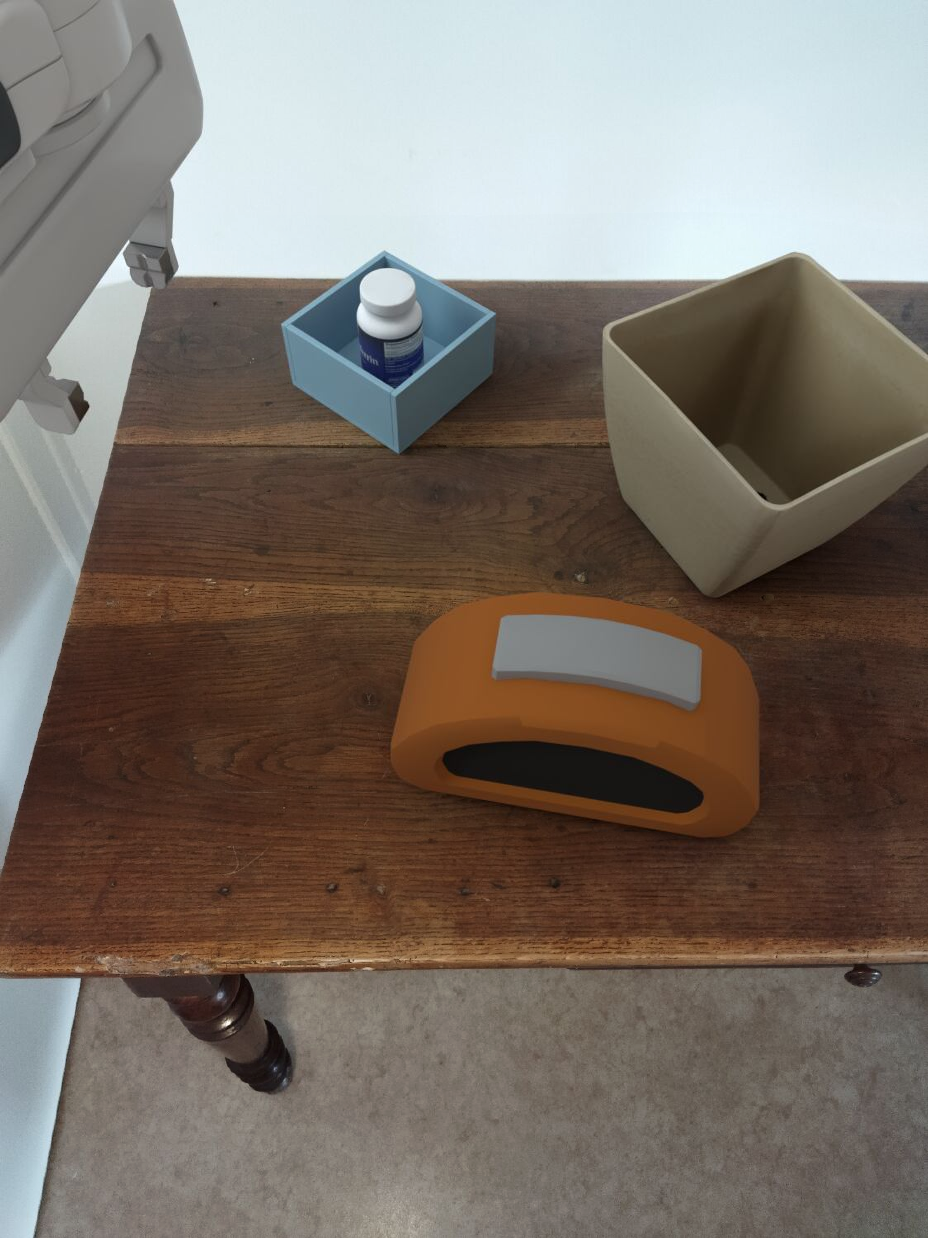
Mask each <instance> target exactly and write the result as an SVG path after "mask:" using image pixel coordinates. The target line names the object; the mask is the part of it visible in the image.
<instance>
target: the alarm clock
mask: <svg viewBox="0 0 928 1238" xmlns="http://www.w3.org/2000/svg"><path fill="white" fill-rule="evenodd" d="M406 672H407V673H406V677H405V680H404V685H403V690H402V693H401V697H400V701H399V706H398V711H397V714H396V718H395V724H394V727H393V731H392V732H393V733H392V737H391V740H390V763H391V767H392V768H393V770H394V771H395V774H396V775H397V777H398V778H399V779H401V780H403V781H404V782H406V783H408V784H410V785H413V786H414V787H417V788H420V789H422V790H426V791H431V792H437V793H442V794H447V795H454V796H459V797H465V798H472V799H477V800H483V801H488V802H494V803H501V804H507V805H512V806H517V807H523V808H530V809H535V810H541V811H546V812H552V813H558V814H563V815H564V814H565V815H570V816H576V817H581V818H588V819H591V820H593V819H594V820H599V821H605V822H609V823H615V824H616V823H617V824H622V825H628V826H633V827H639V828H644V829H650V830H657V831H663V832H668V833H674V834H679V835H686V836H690V837H691V836H692V837H697V838H720V837H722V838H723V837H726V836H732V835H734V833H736V832H738V831H740V830H742V829H744V828H745V827H747V826H748V825H749V823H750V822H751V820H752V819H754V817H755V815H756V814H757V812H758V810H759V809H760V697H759V693H758V691H757V687H756V685H755V681H754V678H753V675H752V670H751V668H750V667H749V665H748V664H747V663H746V661H745V660H744V659H743V658H742V656H741V655H740V653H739V652H738V650H737V649H736V648H735V647H734V646H732V645H731V644H729V643H728V642H727V641H724V639H722V638H720V637H718V636H717V635H716V634H714V633H712V632H711V631H709V630H708V629H706V628H703V627H701V626H699V625H697V624H695V623H693V622H691V621H688V620H687V619H684V618H682V617H680V616H678V615H676V614H673V613H672V612H669V611H665V610H661V609H656V608H652V607H646V606H644V605H643V606H642V605H638V604H633V603H628V602H623V601H620V600H615V599H610V598H606V597H598V596H597V597H596V596H587V595H576V594H565V593H554V592H545V591H544V592H542V591H535V592H534V591H533V592H526V593H517V594H509V595H500V596H492V597H487V598H484V599H480V600H476V601H471V602H466V603H462V604H460V605H459V606H457V607H455V608H453V609H451V610H449V611H448V612H446V613H444V614H442V615H441V616H438V618H436V619H435V620H434V621H432V623H431V624H430V625H429V626H427V627H426V629H425V630H424V631H423V632H422V633H421V634H420V635H418V637H417V638H416V639H415V641H414V642H413V645H412V650H411V655H410V658H409V663H408V667H407V671H406Z"/></svg>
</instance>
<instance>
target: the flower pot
mask: <svg viewBox="0 0 928 1238" xmlns="http://www.w3.org/2000/svg"><path fill="white" fill-rule="evenodd" d="M601 344H602V348H601V349H602V352H601V353H602V355H601V357H602V358H601V363H602V364H601V365H602V386H603V387H602V388H603V389H602V390H603V402H604V404H603V405H604V415H605V421H606V430H607V436H608V437H607V438H608V442H609V447H610V454H611V458H612V463H613V467H614V471H615V476H616V481H617V484H618V486H619V491H620V494H621V497H622V499H623V501H624V503H626V505H628V507H629V508H630V509H631V510H632V511H633V512H634V514H635V515H636V516H637V517H638V519H640V521H641V523H643V525H644V526H645V527H646V528H647V530H649V532H650V533H651V535H653V537H655V539H656V541H658V542H659V544H660V545H661V546H662V547H663V548H664V550H665V551H666V552H667V553H668V555H670V557H671V558H672V559H673V560H674V562H675V563H676V564H677V565H678V566H679V568H680V569H681V570H682V571H683V572H684V573H685V575H686V576H687V577H688V578H689V579H690V580H691V582H692V583H693V584H694V585H695V586H696V588H697V589H698V590H699V591H700V592H701V593H702V594H703V595H704V596H706V597H708V598H715V599H716V598H720V597H722V596H724V595H727V594H728V593H730V592H732V591H734V590H736V589H738V588H740V587H742V586H744V585H746V584H748V583H750V582H752V581H754V580H755V579H758V578H759V577H761V576H763V575H765V574H767V573H769V572H771V571H773V570H775V569H776V568H777V569H778V568H779V567H781V566H782V565H785V564H787V563H789V562H790V561H793V560H794V559H796V558H798V557H800V556H802V555H804V554H806V553H808V552H810V551H812V550H814V549H816V548H817V547H820V546H822V545H824V544H826V543H827V542H828V541H830V540H831V539H832V538H834V537H836V536H837V535H839V534H840V533H842V532H844V531H845V530H846V529H847V528H849V527H850V526H852V525H853V524H854V523H856V522H857V521H858V520H861V518H863V517H865V516H866V515H867V514H869V513H871V511H872V510H874V509H875V508H877V507H878V506H879V505H880V504H881V503H883V502H884V501H886V500H887V499H888V498H890V497H891V496H892V495H894V493H896V492H897V491H899V489H900V488H902V487H903V486H904V485H906V483H908V482H909V481H911V479H912V478H914V477H915V476H916V475H917V474H918V473H920V472H921V471H922V470H923V469H924V468H925V467H927V466H928V354H927V353H926V352H925V351H924V350H923V349H921V348H920V347H919V346H918V345H917V344H915V342H913V341H912V340H911V339H909V338H908V337H907V336H906V335H904V333H902V332H901V330H899V329H897V327H896V326H894V325H893V324H892V323H891V322H890V321H889V320H887V319H885V317H883V315H881V314H880V313H879V312H877V311H876V310H875V309H874V308H872V307H871V305H870V304H868V303H867V302H865V301H864V300H863V299H862V298H861V297H859V296H858V295H857V294H856V293H855V292H853V291H852V289H850V288H849V287H847V285H845V284H844V283H843V282H842V281H840V280H839V279H838V278H837V277H835V275H833V274H832V273H830V272H829V270H827V269H826V268H825V267H824V266H823V265H821V264H820V263H818V261H817V260H815V258H813V257H811V255H809V254H806V253H804V252H798V251H793V252H789V253H787V254H784V255H781V256H779V257H776V258H774V259H771V260H769V261H766V262H764V263H761V264H759V265H756V266H754V267H751V268H748V269H745V270H743V271H740V272H738V273H736V274H733V275H730V276H728V277H726V278H723V279H721V280H718V281H715V282H713V283H710V284H708V285H705V286H703V287H699V288H697V289H694V290H692V291H689V292H687V293H684V294H681V295H679V296H677V297H674V298H671V299H669V300H666V301H664V302H661V303H659V304H658V303H657V304H655V305H653V306H651V307H648V308H645V309H643V310H640V311H637V312H635V313H631V314H630V315H627V316H624V317H622V318H619V319H616V320H613V321H611V322H609V323H607V324H606V325H605V326H604V327H603V329H602V343H601ZM760 494H761V495H763V496H764V498H765V499H764V498H763V497H762V496H760Z"/></svg>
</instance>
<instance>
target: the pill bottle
mask: <svg viewBox="0 0 928 1238" xmlns="http://www.w3.org/2000/svg"><path fill="white" fill-rule="evenodd" d="M416 297H417V296H416V285H415V282H414V280H413V278H412V277H411V276H410V275H409V274H407V273H406V272H404V271H402V270H399V269H394V268H383V269H378V270H375V271H372V272H371V273H369V274H367V275H366V276H365V277H364V278H363V280H362V281H361V284H360V298H361V303H360V305H359V307H358V310H357V325H358V335H359V345H360V353H361V363H362V369H363V370H365V371H366V372H368V373H370V374H371V375H373V376H374V377H376V378H378V379H379V380H381V381H382V382H384V383H386V384H387V385H389V386H390V387H392V388H393V389H396V388H397V387H399V386H400V385H401V384H402V383H404V382H405V381H406V380H407V379H408V378H410V377H411V376H412V375H413V374H414V373H416V372H417V371H418V370H419V369H421V368H422V367H423V366H424V347H423V315H422V310H421V307H420V305H419V303H418V302H417V300H416Z"/></svg>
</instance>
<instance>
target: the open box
mask: <svg viewBox="0 0 928 1238" xmlns="http://www.w3.org/2000/svg"><path fill="white" fill-rule="evenodd" d="M383 268H394V269H399V270H402V271H404V272H406V273H407V274H409V275H410V276H411V277H412V278H413V280H414V282H415V285H416V296H417V297H416V300H417V302H418V303H419V305H420V307H421V310H422V315H423V347H424V366H423V367H422V368H421V369H419V370H418V371H417V372H416V373H414V374H413V375H412V376H411V377H410V378H408V379H407V380H406V381H405V382H404V383H402V384H401V385H400V386H399V387H397V388H396V389H393V388H392V387H390V386H389V385H387V384H386V383H384V382H382V381H381V380H379V379H378V378H376V377H374V376H373V375H371V374H370V373H368V372H366V371H365V370H363V369H362V363H361V353H360V345H359V335H358V325H357V310H358V307H359V305H360V303H361V298H360V284H361V281H362V280H363V278H364V277H365V276H366V275H367V274H369V273H371V272H372V271H375V270H378V269H383ZM496 324H497V313H496V312H494V311H492V310H490V309H489V308H487V307H485V306H483V305H482V304H481V303H479V302H476V301H475V300H473V299H471V298H470V297H468V296H466V295H464V294H463V293H461V292H459V291H457V290H455V289H454V288H452V287H450V286H448V285H447V284H444V283H443V282H442V281H440V280H437V279H436V278H434V277H433V276H431V275H429V274H427V273H425V272H424V271H422V270H420V269H419V268H416V267H414V266H413V265H412V264H409V263H408V262H406V261H405V260H402V259H401V258H399V257H397V256H395V255H394V254H391V253H390V252H388V251H386V250H382V251H381V252H380V253H378V254H377V255H376V256H373V258H371V259H370V260H368V261H367V262H365V263H364V264H363V265H361V266H360V267H358V268H357V269H356V270H355V271H353V272H352V273H350V274H349V275H348V276H346V277H344V278H343V279H342V280H340V281H339V282H337V283H336V284H335V285H333V286H332V287H330V288H329V289H328V290H326V291H325V292H324V293H322V294H321V295H319V296H318V297H317V298H315V299H314V300H312V301H311V302H310V303H308V304H307V305H305V306H304V307H303V308H302V309H300V310H299V311H297V312H296V313H294V314H293V315H291V316H290V317H289V318H287V319H286V320H284V321H283V322H282V323H281V324H280V327H281V331H282V336H283V341H284V347H285V352H286V357H287V363H288V367H289V373H290V377H291V382H292V385H293V386H294V387H296V388H298V389H299V390H301V391H302V392H303V393H305V394H307V395H308V396H309V397H311V398H312V399H314V400H316V401H317V402H319V403H320V404H322V405H323V406H324V407H326V408H328V409H329V410H331V411H332V412H334V413H335V414H337V415H338V416H340V417H342V418H343V419H345V420H346V421H347V422H349V423H350V424H352V425H354V426H355V427H357V428H358V429H360V430H361V431H363V432H364V433H366V434H367V435H369V436H370V437H372V438H373V439H375V440H376V441H378V442H379V443H380V444H382V445H384V446H386V447H387V448H389V449H390V450H392V451H393V452H394V453H396V454H397V455H401V454H402V453H403V452H404V451H405V450H406V449H408V448H409V447H410V446H411V445H412V444H413V443H415V442H416V441H417V440H418V439H419V438H420V437H421V436H423V435H424V434H425V433H426V432H427V431H428V430H430V429H431V428H432V427H433V426H434V425H436V423H437V422H439V421H440V420H441V419H442V418H443V417H445V416H446V415H447V414H448V413H449V412H450V411H451V410H452V409H454V408H455V407H456V406H457V405H458V404H459V403H461V402H462V401H464V400H465V398H466V397H468V396H469V395H470V394H471V393H472V392H473V391H475V389H477V388H478V387H479V386H481V384H482V383H484V382H485V381H486V380H487V379H488V378H489V377H491V376H492V375H493V371H494V370H493V369H494V358H495V357H494V353H495V339H496V336H495V335H496Z"/></svg>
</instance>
